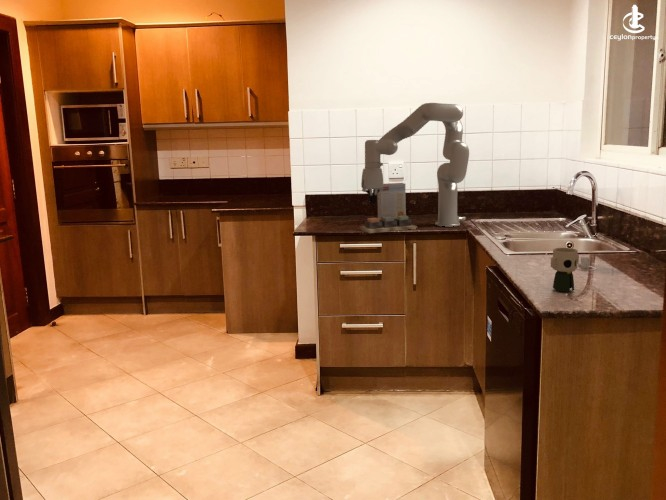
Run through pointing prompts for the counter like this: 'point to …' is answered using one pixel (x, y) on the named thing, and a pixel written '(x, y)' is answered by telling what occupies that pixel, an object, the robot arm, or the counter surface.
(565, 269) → the beige and green figure
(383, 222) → the button board
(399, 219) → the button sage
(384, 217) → the button slate
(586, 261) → the teacup and saucer
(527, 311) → the counter surface
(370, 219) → the button terracotta
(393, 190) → the cracker box
